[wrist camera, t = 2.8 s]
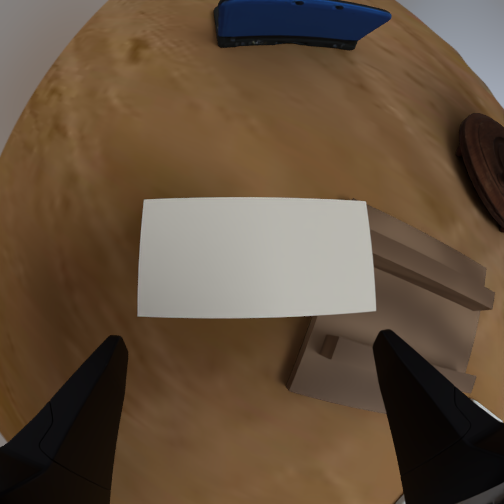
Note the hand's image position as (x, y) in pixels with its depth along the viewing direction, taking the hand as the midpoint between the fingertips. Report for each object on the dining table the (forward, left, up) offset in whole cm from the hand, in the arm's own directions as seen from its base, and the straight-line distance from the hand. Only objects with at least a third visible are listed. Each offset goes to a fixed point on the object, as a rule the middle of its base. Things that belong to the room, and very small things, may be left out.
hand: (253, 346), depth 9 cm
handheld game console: (+24, +19, -10) cm, 32 cm away
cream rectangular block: (+2, +2, -10) cm, 10 cm away
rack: (+9, -9, -10) cm, 16 cm away
